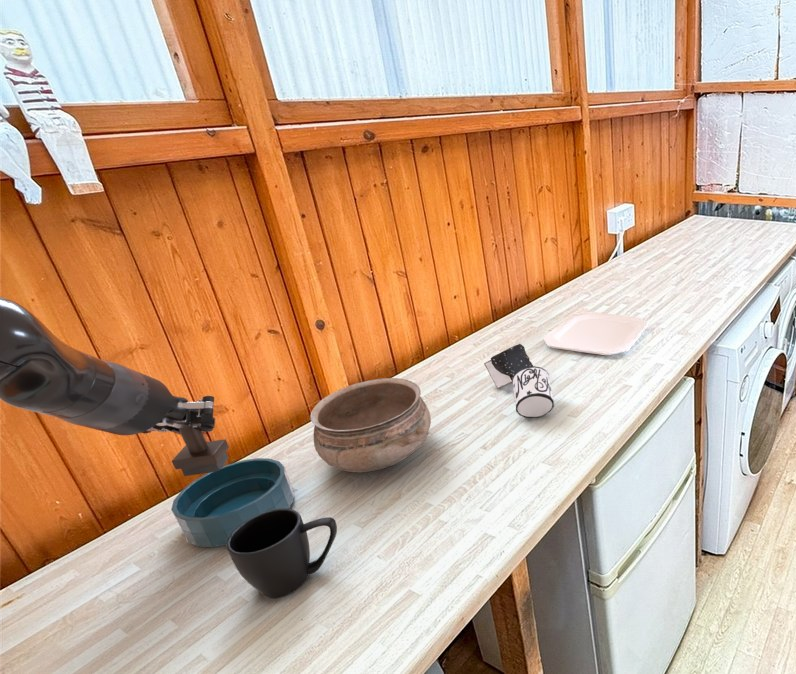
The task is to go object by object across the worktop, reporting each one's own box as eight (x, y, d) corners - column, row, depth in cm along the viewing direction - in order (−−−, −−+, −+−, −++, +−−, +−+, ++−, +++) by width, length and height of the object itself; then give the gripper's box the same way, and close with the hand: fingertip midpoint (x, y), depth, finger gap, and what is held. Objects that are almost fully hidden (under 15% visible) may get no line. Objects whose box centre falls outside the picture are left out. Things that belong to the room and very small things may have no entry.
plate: (623, 362, 131) (623, 355, 130) (536, 350, 138) (535, 342, 137) (652, 325, 152) (652, 318, 151) (576, 316, 159) (575, 309, 158)
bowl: (167, 559, 76) (150, 529, 73) (213, 494, 88) (200, 466, 86) (277, 539, 79) (264, 509, 77) (306, 479, 92) (296, 452, 89)
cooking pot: (470, 444, 100) (460, 390, 95) (392, 509, 85) (375, 448, 79) (375, 417, 109) (361, 366, 104) (288, 472, 93) (267, 415, 88)
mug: (343, 590, 71) (324, 538, 67) (240, 615, 67) (214, 562, 63) (354, 545, 78) (338, 496, 74) (262, 565, 75) (239, 515, 71)
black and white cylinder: (568, 415, 109) (564, 374, 105) (523, 431, 104) (517, 388, 100) (523, 368, 128) (518, 332, 124) (483, 380, 123) (477, 342, 119)
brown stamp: (179, 478, 75) (150, 418, 71) (193, 461, 79) (166, 403, 75) (221, 472, 77) (194, 412, 72) (233, 455, 80) (208, 398, 76)
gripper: (180, 359, 64) (254, 395, 80) (42, 375, 61) (147, 409, 77) (174, 419, 62) (251, 443, 78) (29, 438, 58) (141, 459, 74)
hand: (199, 426), depth 77 cm, fingers closed on brown stamp, 2 cm apart
